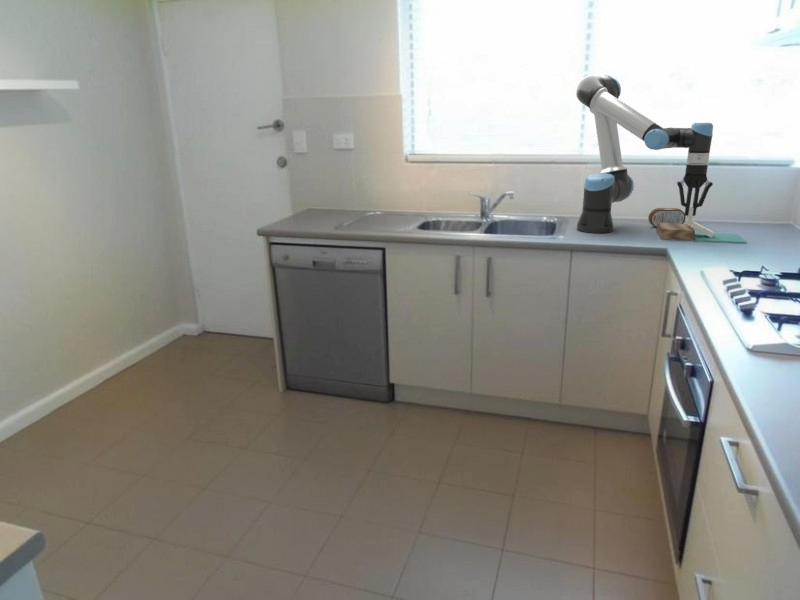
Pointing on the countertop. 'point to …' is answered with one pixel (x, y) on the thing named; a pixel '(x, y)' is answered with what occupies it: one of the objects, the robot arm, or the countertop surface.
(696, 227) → the white rectangular block
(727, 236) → the mat
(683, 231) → the brown wooden block
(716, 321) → the countertop surface
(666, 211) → the tin
